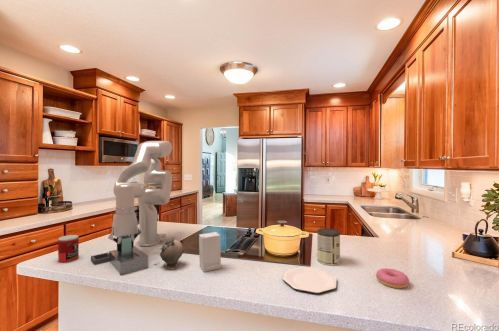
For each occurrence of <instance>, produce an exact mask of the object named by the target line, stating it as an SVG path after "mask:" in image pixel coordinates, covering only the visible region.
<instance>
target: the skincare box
mask: <svg viewBox="0 0 499 331" xmlns="http://www.w3.org/2000/svg"><path fill="white" fill-rule="evenodd" d="M198 244H199V245H198V247H199V248H198V250H199V251H198V252H199V256H198V257H199V268H200V270H201V272H202V273H206V272H210V271H213V270H218V269H221V268H222V264H221V262H222V260H221V258H222V256H221V235H220V234H219V233H218V232H217V231H213V232H208V233H207V232H206V233H201V234H198Z"/></svg>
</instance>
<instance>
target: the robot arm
mask: <svg viewBox="0 0 499 331" xmlns="http://www.w3.org/2000/svg"><path fill="white" fill-rule="evenodd" d="M172 149H173V146H172V143H171V142H170V141H168V140H147V141H143V142H141V143H139V144H138V146H137V148H136V152H135V154H134V158H133V160H132V162H131V164H130V165H128V166H127V167H125V168H124V169H123V170H121V172H119V174H118V175H117V178H116V180H115V183H114V186H113V194H114V196H115V213H114V214H113V217H112V218H113V219H112V223H111V224H112V227H111V232H110V233H109V235H108V236H107V239H108V240H111V241H112V242H114V243H116V250H117V251H119V252H120V253H121V252H122V244H121V237H123V236H130V237H131V250H133V247H134V246H135V245H134V244H135V239H136V238H138V237H139V239H138V240H137V241H136V245H137V246H138V247H152V246H153V247H154V246H156V245H158V244H160V243H161V238H162V239H163V238H166V237H167V235H166V233H158V210H157V208H156V207H155V205H156V206H157V205H167V204H168V203H169V202H170V199H171V192H172V185H173V184H172V183H173V174H172V172H170V170H167V169H165V170H164V169H163V170H162V161H160V159H159V158H161V159H162V158H165V157H167V156H169V155H171V154H172V151H173V150H172ZM143 173H144V175H143V183H142V182H138V181H137V182H133V181H129V180H130V179H131V178H134V177H137V176H139V175H142V174H143ZM128 181H129V182H128ZM135 198H136V199H137V203H138V206H135ZM137 210H139V212H138V214H139V216H138V218H139V219H137V213H136V212H135V211H137ZM138 221H139V222H138ZM138 223H139V226H138Z"/></svg>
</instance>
